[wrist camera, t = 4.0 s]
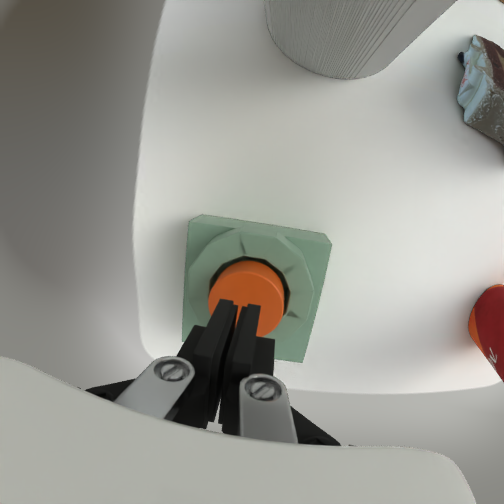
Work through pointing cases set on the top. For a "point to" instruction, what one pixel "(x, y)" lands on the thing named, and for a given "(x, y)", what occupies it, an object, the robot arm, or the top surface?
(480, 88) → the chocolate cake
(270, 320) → the power button
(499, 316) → the paper cup
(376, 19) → the cup
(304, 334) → the button base
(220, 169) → the top surface
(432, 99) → the top surface
